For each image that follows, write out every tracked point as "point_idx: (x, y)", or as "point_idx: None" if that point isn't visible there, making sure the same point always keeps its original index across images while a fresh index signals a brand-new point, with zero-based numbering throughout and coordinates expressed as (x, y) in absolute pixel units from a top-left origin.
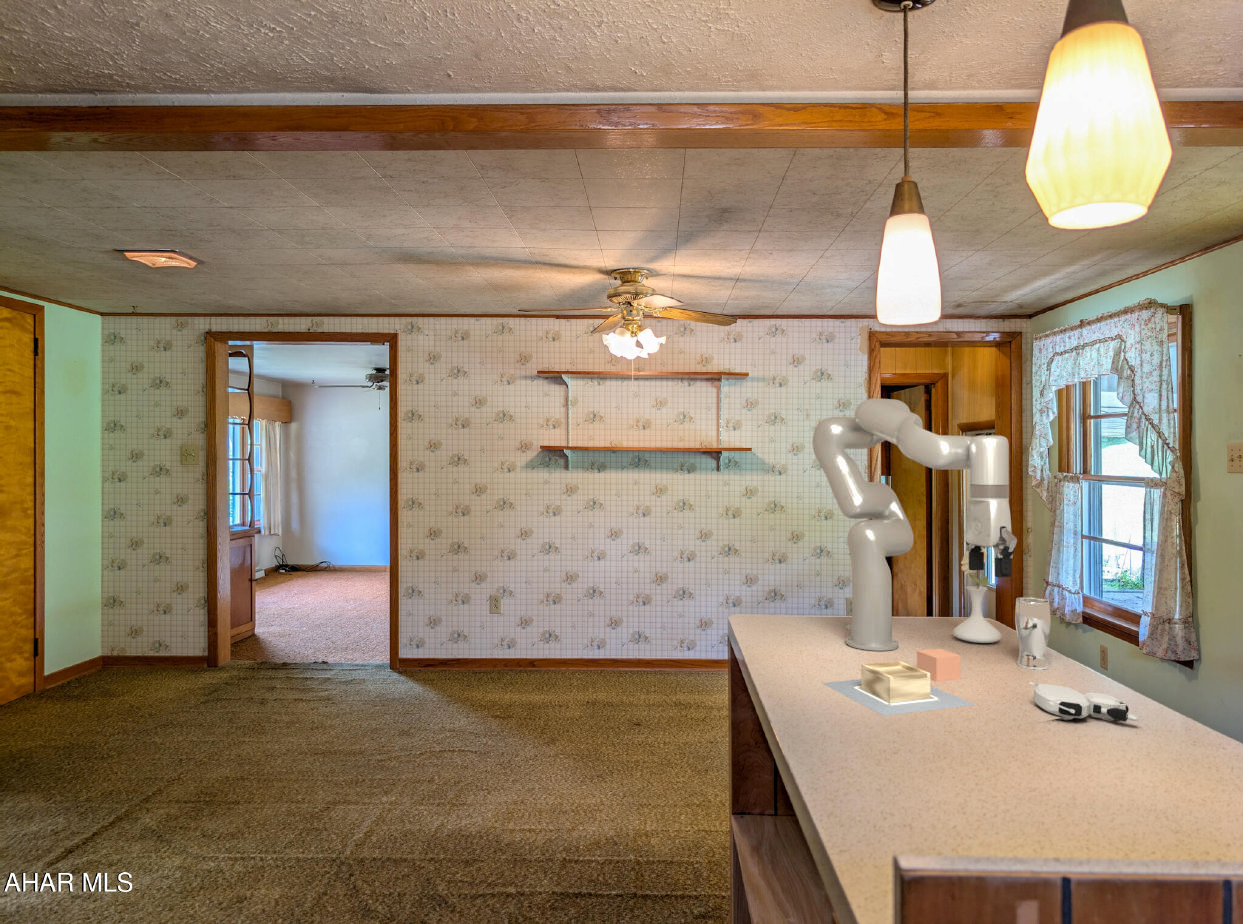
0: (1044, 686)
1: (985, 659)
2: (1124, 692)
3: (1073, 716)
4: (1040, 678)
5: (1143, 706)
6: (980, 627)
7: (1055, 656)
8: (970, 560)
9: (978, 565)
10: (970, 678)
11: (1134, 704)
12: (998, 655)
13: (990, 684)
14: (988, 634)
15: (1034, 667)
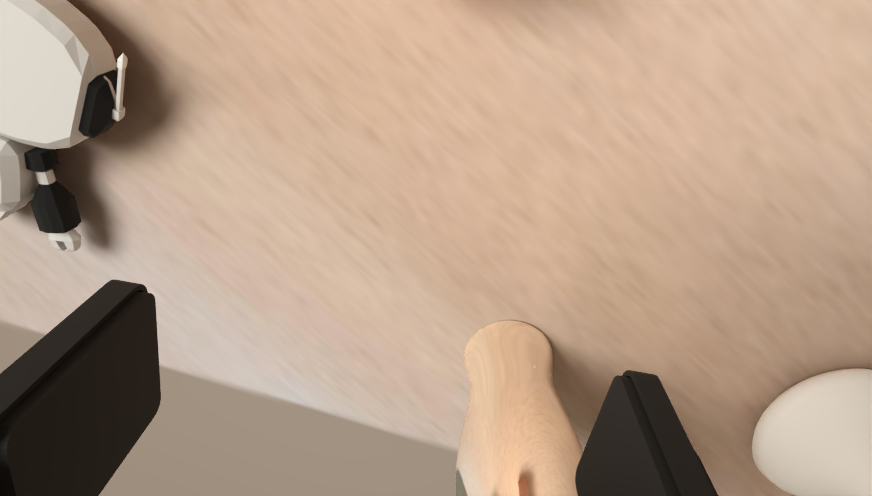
0: (42, 50)
1: (632, 282)
2: (230, 377)
3: None
4: (390, 280)
5: None
6: (821, 445)
7: None
8: (663, 454)
9: (601, 471)
10: (453, 50)
11: None
12: (651, 354)
13: (369, 68)
14: (776, 437)
15: (474, 336)
